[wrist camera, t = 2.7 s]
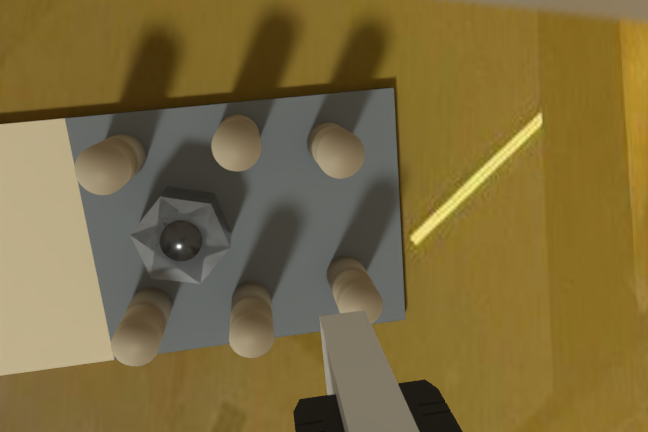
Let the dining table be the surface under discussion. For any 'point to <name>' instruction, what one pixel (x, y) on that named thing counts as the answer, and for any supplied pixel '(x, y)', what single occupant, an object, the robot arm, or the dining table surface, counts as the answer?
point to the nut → (182, 235)
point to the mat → (238, 209)
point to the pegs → (251, 297)
